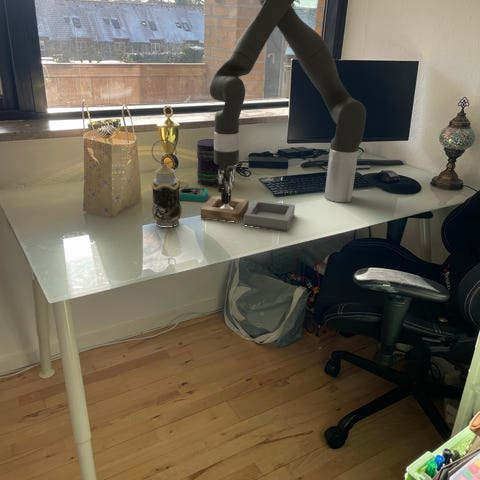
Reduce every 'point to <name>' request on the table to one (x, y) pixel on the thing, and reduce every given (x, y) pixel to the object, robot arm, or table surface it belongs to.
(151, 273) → the table surface
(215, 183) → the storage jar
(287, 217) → the parts tray
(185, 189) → the digital multimeter
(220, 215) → the socket stand
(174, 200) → the lantern
